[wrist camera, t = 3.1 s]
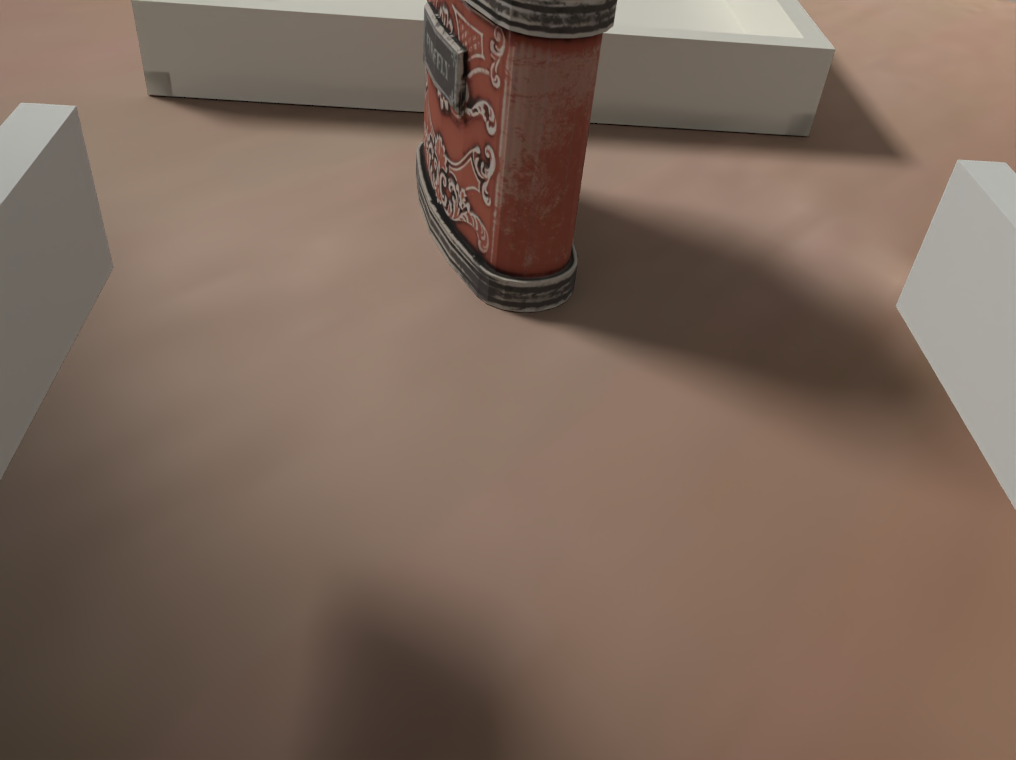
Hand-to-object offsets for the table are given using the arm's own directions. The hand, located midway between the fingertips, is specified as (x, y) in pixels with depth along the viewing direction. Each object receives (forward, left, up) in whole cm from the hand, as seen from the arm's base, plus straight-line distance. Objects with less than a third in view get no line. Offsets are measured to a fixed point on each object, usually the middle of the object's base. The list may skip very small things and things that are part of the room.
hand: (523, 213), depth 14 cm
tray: (0, +28, -6) cm, 28 cm away
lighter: (0, +10, -6) cm, 12 cm away
